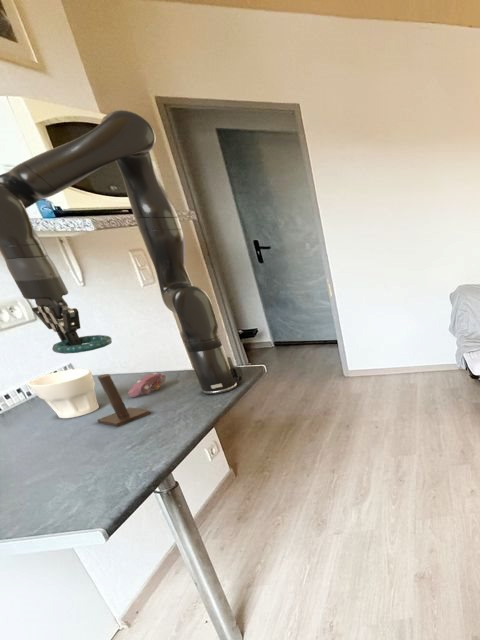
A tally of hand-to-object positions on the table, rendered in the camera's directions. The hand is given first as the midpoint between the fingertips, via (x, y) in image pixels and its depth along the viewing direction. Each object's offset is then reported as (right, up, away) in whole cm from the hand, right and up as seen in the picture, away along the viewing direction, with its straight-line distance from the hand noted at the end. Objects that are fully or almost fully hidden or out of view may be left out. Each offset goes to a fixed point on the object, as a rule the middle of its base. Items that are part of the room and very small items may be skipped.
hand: (73, 345), depth 106 cm
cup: (-14, -18, +15) cm, 27 cm away
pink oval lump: (-5, -12, +27) cm, 30 cm away
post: (+3, -19, +10) cm, 22 cm away
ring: (+4, 0, -2) cm, 4 cm away
